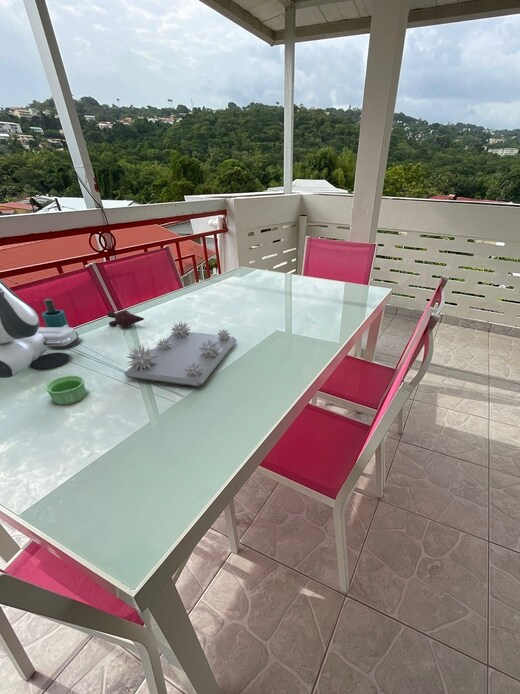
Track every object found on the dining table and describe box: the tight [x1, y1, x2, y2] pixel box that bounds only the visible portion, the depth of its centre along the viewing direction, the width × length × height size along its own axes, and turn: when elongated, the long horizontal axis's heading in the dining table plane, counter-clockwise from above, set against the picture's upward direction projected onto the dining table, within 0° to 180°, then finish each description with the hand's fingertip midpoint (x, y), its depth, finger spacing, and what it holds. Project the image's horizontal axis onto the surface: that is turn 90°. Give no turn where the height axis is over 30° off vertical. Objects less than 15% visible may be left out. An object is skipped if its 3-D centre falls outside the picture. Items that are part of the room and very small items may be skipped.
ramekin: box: [45, 375, 87, 405], centre depth 92 cm, size 9×9×4 cm
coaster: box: [29, 352, 71, 371], centre depth 108 cm, size 11×11×1 cm
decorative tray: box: [123, 320, 237, 388], centre depth 111 cm, size 35×26×10 cm
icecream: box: [106, 309, 145, 328], centre depth 133 cm, size 7×7×15 cm
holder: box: [43, 298, 81, 351], centre depth 115 cm, size 10×10×16 cm
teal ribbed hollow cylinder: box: [41, 309, 70, 327], centre depth 115 cm, size 6×6×8 cm
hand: (51, 326), depth 112 cm, fingers open, 8 cm apart
